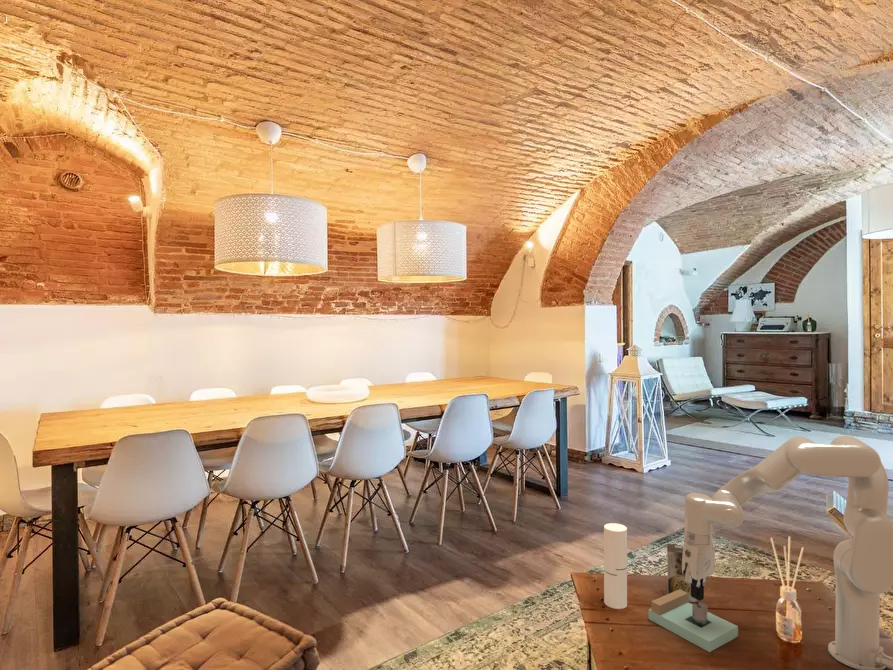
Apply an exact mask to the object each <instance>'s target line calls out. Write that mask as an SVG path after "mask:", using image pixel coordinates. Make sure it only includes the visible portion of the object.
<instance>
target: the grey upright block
mask: <svg viewBox="0 0 893 670" xmlns="http://www.w3.org/2000/svg"><path fill="white" fill-rule="evenodd" d="M691 604H692V623H693V624H695V625H697V626H698V627H700V628H702V627H704V626H706V625H707V612H708V604H706V603H705V602H703V601H699V600H697V601H696V602H691Z"/></svg>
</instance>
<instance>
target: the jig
mask: <svg viewBox="0 0 893 670" xmlns="http://www.w3.org/2000/svg"><path fill="white" fill-rule="evenodd" d="M650 604H651V607H650V608H649V609H648V620H649V621H651V622H653V623H654V624H656V625H659V626H660V627H662V628H664V629H666V630H668V631H670V632H671V633H673V634H675V635H677V636H679V637H680V638H682V639H684V640H687V641H688V642H689V643H692V644H693V645H695V646H697V647H699V648H701V649H702V650H704V651H706V652H708V653H711V652H713V651H715V650H716V649H717V648H720V647H722V646H723V645H726V644H727V643H729V642H731V641H733V640H734V639H736V638H737V637H739V626H738V625H736V624H734V623H732V622H730V621H728V620H726V619H723V618H721V617H720V616H717V615H716V614H714V613H711V612H709V611H707V625H706V626H704V627H702V628H700V627H698V626H697V625H695V624H693V623H692V603H691V602H689V601H688V593H687V592H685V591H683V590H680V589H679V590H676V591H674V592H672V593H670V594H668V593H667V594H665V595H663V596H660V597H659V598H655V599H654V600H651V603H650Z"/></svg>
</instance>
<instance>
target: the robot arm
mask: <svg viewBox="0 0 893 670" xmlns="http://www.w3.org/2000/svg"><path fill="white" fill-rule="evenodd" d="M802 474H805V475H806V476H807V475H809V476H814V477H816V476H817V477H828V478H829V477H831V478H832V477H833V478H848V481H847V482H848V483H847V484H848V488H847V496H846V501H845V509H844V513H843V518H842V519H843V520H842V521H843V525H844V527H845V529H846V530H847V531H848V533H849V534H850V535H851V536H852V537H853V539H852V538H851V539H850V538H848V539H844V540H842V541H840V542H839V543H838V544H837V545H836V547H835V548H834V550H833V568H834V576H835V578H834V579H835V618H834V619H835V628H834V630H835V633H834V639H835V640H832V641H830V642H829V643H828V645H827V648H828V649H827V650H828V652H829V655H831V656H832V658H834V659H835V660H836V661H838V662H840V663H841V664H843V665H846V667H850V668H853V669H855V670H883V669H885V668H886V669H887V668H888V669H890V670H893V657H892V656H890V655H888V654H886V653H884V646H881V645H880V606H881V605H880V604H881V603H880V602H881V599H880V598H881V594H884V593H886V592H888V591H889V590H890V589H891V587H892V586H893V521H892V519H891V518H890V517H888V515H887V510H888V501H889V500H888V499H889V490H890V489H889V479H888V474H887V471H886V469H885V467H884V464H883V463H882V460H881V457H880V454H879V453H878V451H876V450H875V449H874V448H873V447H871V446H870V445H868V444H866V443H865V442H863V441H861V440H860V439H858V438H856V437H854V436H849V435H840V436H836V437H835V438H834V439H833V440H831V442H830V444H825V443H824V444H823V443H815V442H814V441H813V440H811V439H809V438H807V437H804V436H793V437H791V438H790V439H789V438H788V440H787V441H785V442H784V443H783V444H781V445H780V446H779V447H778V448H776V449H775V450H774V451H772V453H770V454H769V455H768V456H766V457H765V458H763V460H761V462H759V463H758V464H756V465H755V466H754V467H752V468H750V469H748V470H745V471H744V472H742V473H741V474H739V475H737V476H735V477H733V478H732V479H730V480H729V481H728V482H726V483H725V485H724V484H723V486H722V487H720V488H719V489H717V491H716V492H715V493H714V494H713V495H712V497H710V496H708V495H707V494H704V493H699V492H691V493H688V494H686V495H685V497H684V528H683V529H684V530H683V532H684V537H683V538H684V539H683V540H684V542H683V546H684V547H683V555H682V573H683V575H685V581H686V582H688V583H690V584H691V597H693V598H695V599H697V601H698V602H701V601H702V600H704V598H705V585H706V578H707V577H710V576H712V575H713V574H714V573H715V572H716V555H715V546H714V542H713V524H715V525H717V526H718V525H719V526H722V527H727V528H737V527H738V526H741V525H742V523H744V518H745V514H744V510H743V508H742V507H743V506H744V505H745V504H746V503H747V502H749V501H750V500H751V499H753V498H755V497H757V496H761V495H762V494H773V493H778V492H780V491H782V490H784V488H786V487H787V486H788V485H790V484H791V483H792V482H794V480H796V479H797V478H798V477H799V476H801V475H802ZM886 669H885V670H886Z"/></svg>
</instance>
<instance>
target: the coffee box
mask: <svg viewBox="0 0 893 670" xmlns="http://www.w3.org/2000/svg"><path fill="white" fill-rule="evenodd" d="M683 547H684V545H679V544H672V543H667V545H666V552H667V553H666V558H667V560H666V564H667V577H666V578H667V594H670V593H672V592H674V591H676V590H679V589H680V590H683V591H685V592H687V593H688V603H693V602H696V601H698V600H697V599H695V598H693V597H691V584H690V583H688V582H686V581H685V575H683V573H682V555H683Z"/></svg>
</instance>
